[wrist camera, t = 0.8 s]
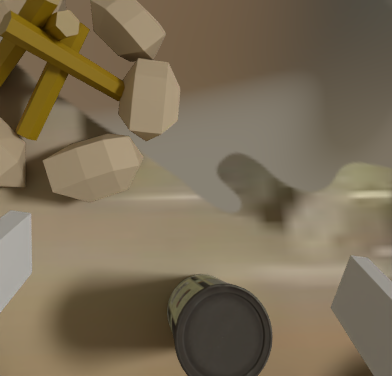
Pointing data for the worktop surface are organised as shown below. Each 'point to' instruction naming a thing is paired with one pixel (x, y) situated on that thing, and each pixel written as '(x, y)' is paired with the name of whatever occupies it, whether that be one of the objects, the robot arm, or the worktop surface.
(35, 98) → the campfire
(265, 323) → the coffee can
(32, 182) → the worktop surface
